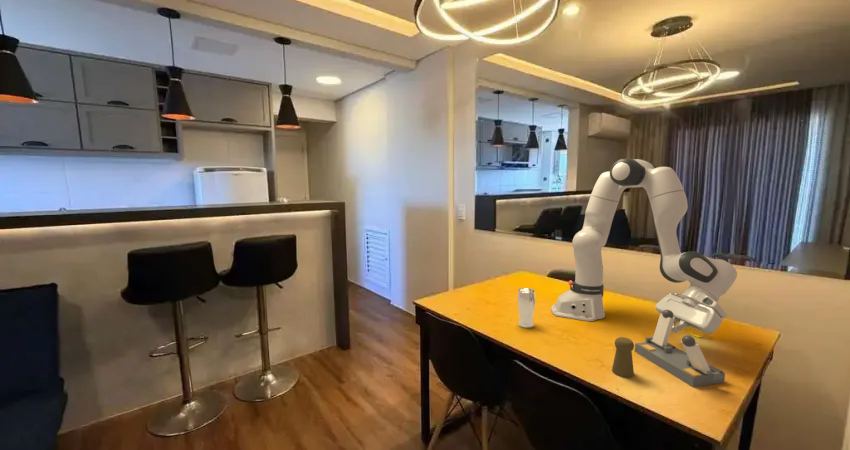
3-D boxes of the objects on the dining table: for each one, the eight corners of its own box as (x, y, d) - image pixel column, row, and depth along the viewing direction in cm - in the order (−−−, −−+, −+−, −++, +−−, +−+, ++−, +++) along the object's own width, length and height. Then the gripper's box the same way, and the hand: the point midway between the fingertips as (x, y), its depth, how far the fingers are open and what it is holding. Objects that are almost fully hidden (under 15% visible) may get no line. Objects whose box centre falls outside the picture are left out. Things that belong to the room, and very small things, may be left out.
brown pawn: (607, 368, 113) (609, 335, 112) (625, 366, 114) (627, 334, 112) (619, 378, 107) (621, 344, 106) (638, 377, 108) (640, 342, 106)
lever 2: (697, 362, 108) (681, 329, 105) (716, 372, 102) (700, 338, 99) (689, 368, 107) (673, 335, 105) (708, 379, 101) (691, 344, 99)
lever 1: (655, 342, 123) (665, 307, 123) (669, 350, 118) (680, 313, 117) (647, 341, 123) (658, 306, 122) (661, 349, 117) (673, 312, 116)
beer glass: (535, 323, 149) (536, 288, 148) (533, 329, 143) (534, 293, 141) (519, 320, 152) (519, 287, 151) (516, 327, 146) (516, 291, 144)
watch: (705, 338, 133) (708, 324, 132) (701, 340, 132) (703, 325, 131) (688, 331, 138) (691, 317, 137) (684, 333, 137) (686, 318, 136)
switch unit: (661, 348, 126) (662, 335, 125) (732, 386, 102) (733, 371, 101) (634, 351, 124) (634, 338, 123) (699, 391, 100) (700, 376, 99)
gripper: (666, 286, 130) (641, 313, 130) (721, 304, 110) (693, 337, 110) (675, 296, 132) (651, 324, 131) (732, 317, 112) (704, 349, 111)
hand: (670, 330), depth 120 cm, fingers closed
